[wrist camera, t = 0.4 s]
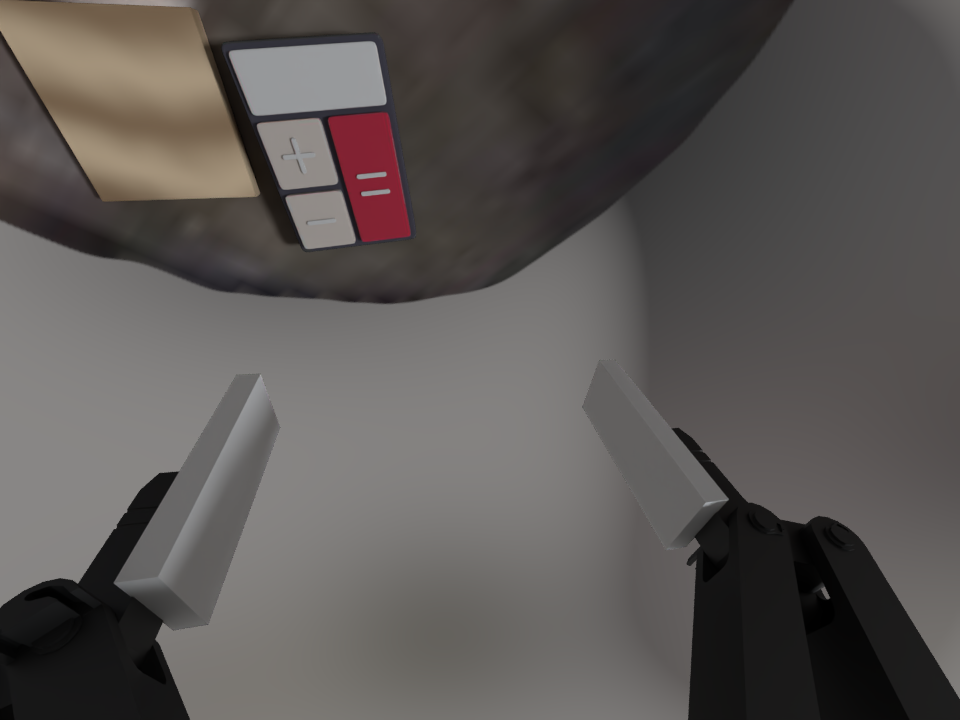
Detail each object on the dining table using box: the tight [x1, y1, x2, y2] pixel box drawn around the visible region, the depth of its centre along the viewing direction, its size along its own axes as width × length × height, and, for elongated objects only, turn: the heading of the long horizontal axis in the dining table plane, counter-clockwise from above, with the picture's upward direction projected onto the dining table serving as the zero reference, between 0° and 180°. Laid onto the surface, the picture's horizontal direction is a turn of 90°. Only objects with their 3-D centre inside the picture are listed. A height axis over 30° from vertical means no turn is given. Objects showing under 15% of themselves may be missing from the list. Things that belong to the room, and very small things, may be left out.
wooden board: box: [0, 0, 260, 202], centre depth 27 cm, size 12×12×1 cm
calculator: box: [221, 33, 416, 252], centre depth 30 cm, size 11×4×15 cm
